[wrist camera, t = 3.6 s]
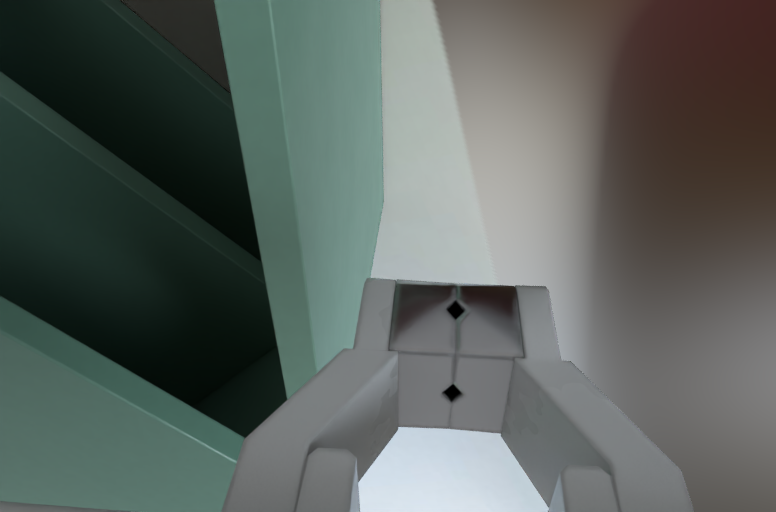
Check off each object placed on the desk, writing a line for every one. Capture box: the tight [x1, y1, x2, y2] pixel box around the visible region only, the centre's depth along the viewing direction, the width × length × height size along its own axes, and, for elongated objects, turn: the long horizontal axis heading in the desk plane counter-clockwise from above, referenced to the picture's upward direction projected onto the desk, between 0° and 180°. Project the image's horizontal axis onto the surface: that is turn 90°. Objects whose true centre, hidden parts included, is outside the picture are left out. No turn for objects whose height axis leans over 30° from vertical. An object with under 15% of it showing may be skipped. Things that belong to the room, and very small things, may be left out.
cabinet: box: [0, 0, 287, 512], centre depth 26 cm, size 13×20×17 cm, turn 46°
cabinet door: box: [214, 0, 384, 400], centre depth 20 cm, size 5×20×17 cm, turn 1°
